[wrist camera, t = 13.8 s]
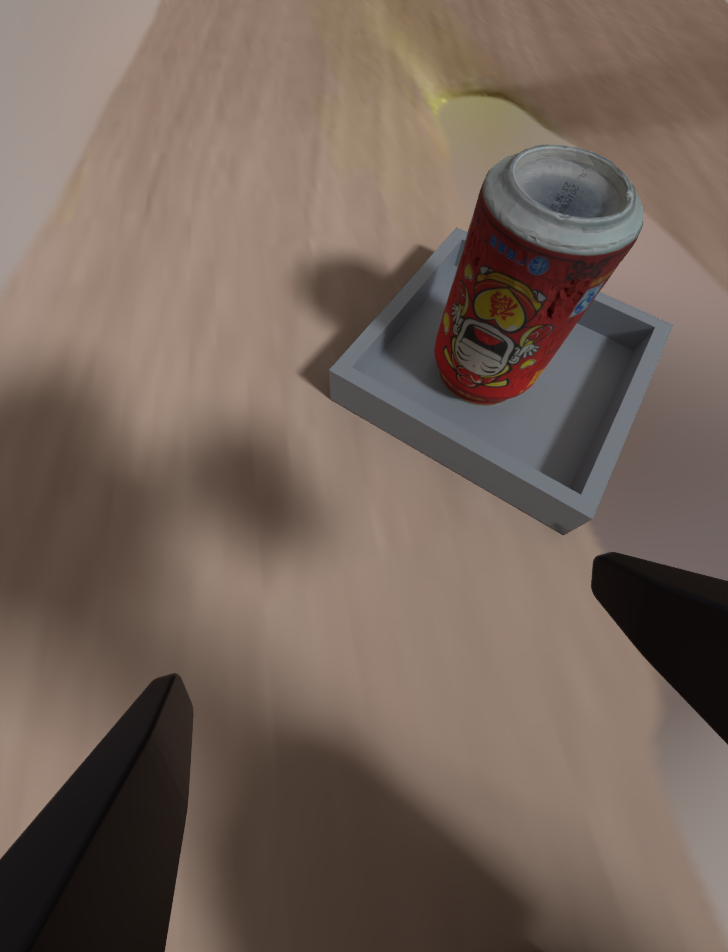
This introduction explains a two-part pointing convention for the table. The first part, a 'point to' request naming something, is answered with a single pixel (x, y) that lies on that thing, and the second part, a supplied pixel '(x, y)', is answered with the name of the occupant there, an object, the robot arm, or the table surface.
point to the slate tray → (518, 419)
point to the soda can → (532, 267)
